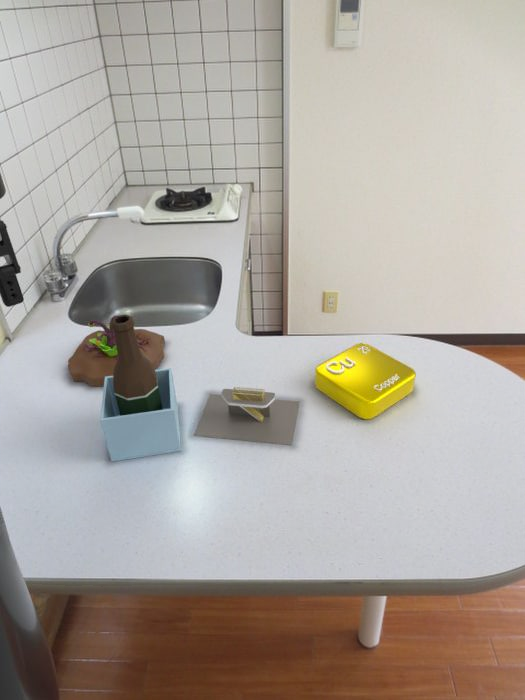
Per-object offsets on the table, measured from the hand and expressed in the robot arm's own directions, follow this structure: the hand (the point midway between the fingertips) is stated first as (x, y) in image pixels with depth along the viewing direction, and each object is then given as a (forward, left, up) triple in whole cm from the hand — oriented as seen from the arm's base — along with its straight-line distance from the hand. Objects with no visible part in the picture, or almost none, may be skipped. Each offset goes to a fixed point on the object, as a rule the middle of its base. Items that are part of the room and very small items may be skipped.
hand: (3, 291), depth 65 cm
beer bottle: (+11, -12, -36) cm, 40 cm away
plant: (+36, -6, -37) cm, 52 cm away
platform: (+11, -31, -37) cm, 49 cm away
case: (+11, -12, -37) cm, 40 cm away
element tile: (+15, -55, -37) cm, 68 cm away
